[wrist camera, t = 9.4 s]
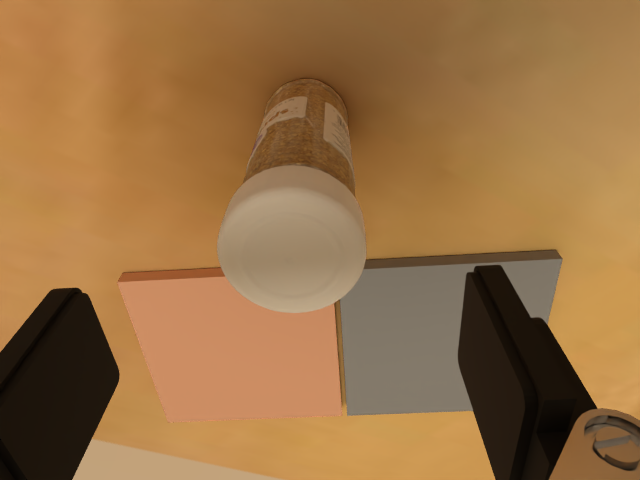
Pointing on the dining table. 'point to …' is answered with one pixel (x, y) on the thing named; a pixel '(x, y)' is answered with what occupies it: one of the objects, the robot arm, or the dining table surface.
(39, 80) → the dining table surface
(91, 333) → the robot arm
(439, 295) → the gray tile
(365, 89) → the dining table surface
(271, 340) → the terracotta tile
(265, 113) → the sprinkles bottle
